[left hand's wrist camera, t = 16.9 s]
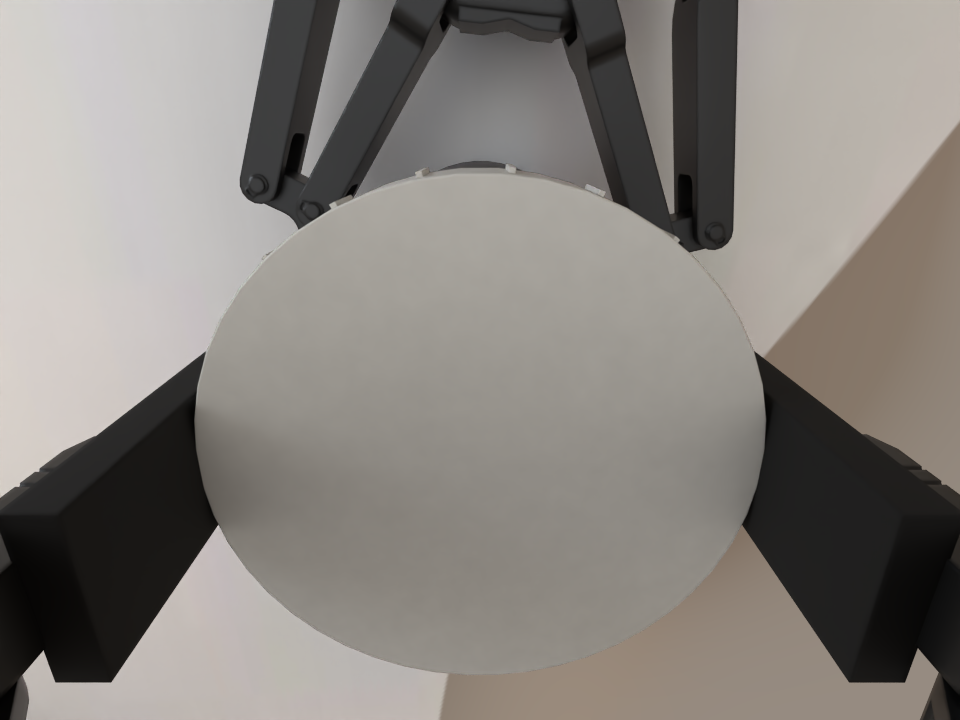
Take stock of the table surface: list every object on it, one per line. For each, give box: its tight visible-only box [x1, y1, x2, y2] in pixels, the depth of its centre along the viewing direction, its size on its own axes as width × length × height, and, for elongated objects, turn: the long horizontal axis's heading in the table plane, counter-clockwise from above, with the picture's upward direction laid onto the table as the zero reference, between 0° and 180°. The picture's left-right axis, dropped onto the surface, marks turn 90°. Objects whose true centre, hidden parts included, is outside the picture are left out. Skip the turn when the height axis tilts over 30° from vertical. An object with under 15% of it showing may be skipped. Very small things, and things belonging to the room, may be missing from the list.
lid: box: [194, 164, 766, 675], centre depth 11 cm, size 10×10×2 cm
